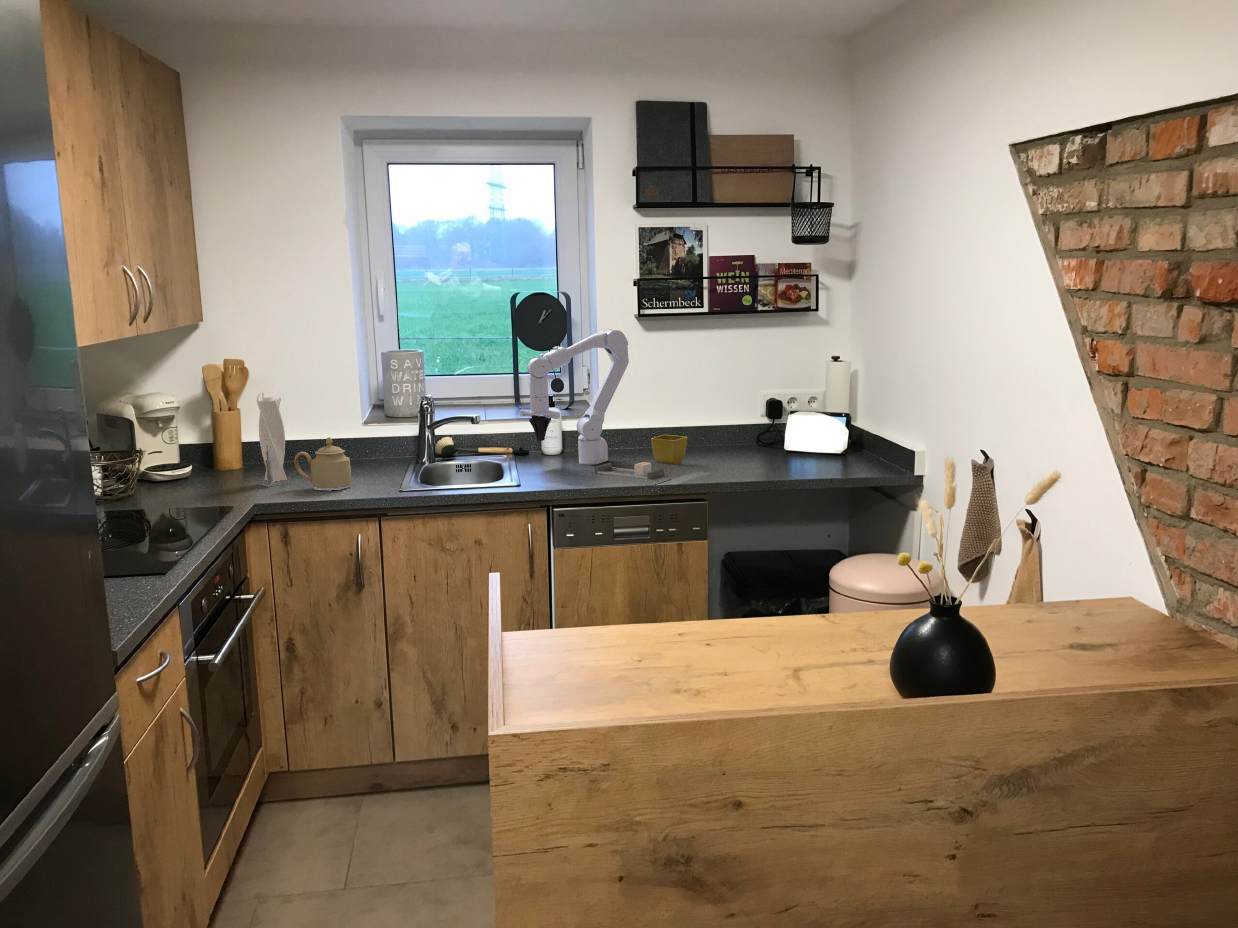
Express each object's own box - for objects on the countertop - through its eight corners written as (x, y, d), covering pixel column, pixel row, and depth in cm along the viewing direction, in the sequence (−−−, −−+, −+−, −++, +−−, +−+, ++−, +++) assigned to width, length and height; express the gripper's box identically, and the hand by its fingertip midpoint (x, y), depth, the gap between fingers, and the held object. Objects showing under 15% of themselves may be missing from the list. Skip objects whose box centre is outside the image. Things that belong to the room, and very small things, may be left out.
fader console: (605, 472, 298) (605, 462, 297) (671, 479, 284) (671, 469, 283) (587, 477, 290) (587, 466, 290) (654, 485, 277) (654, 474, 276)
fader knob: (643, 473, 287) (642, 461, 286) (651, 474, 285) (651, 462, 284) (634, 476, 283) (634, 464, 282) (643, 477, 281) (642, 464, 281)
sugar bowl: (303, 494, 275) (299, 442, 272) (295, 488, 284) (291, 437, 282) (356, 488, 282) (352, 437, 279) (346, 482, 291) (343, 433, 289)
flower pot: (688, 464, 308) (688, 436, 306) (675, 468, 301) (674, 440, 299) (664, 462, 313) (664, 434, 311) (650, 466, 306) (650, 438, 304)
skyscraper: (255, 485, 292) (247, 392, 287) (280, 480, 298) (272, 390, 293) (269, 488, 287) (261, 394, 281) (294, 484, 292) (286, 391, 287)
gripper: (512, 397, 301) (514, 440, 303) (549, 399, 292) (550, 443, 295) (527, 395, 306) (529, 437, 309) (563, 397, 298) (565, 440, 300)
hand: (540, 440), depth 302 cm, fingers closed
